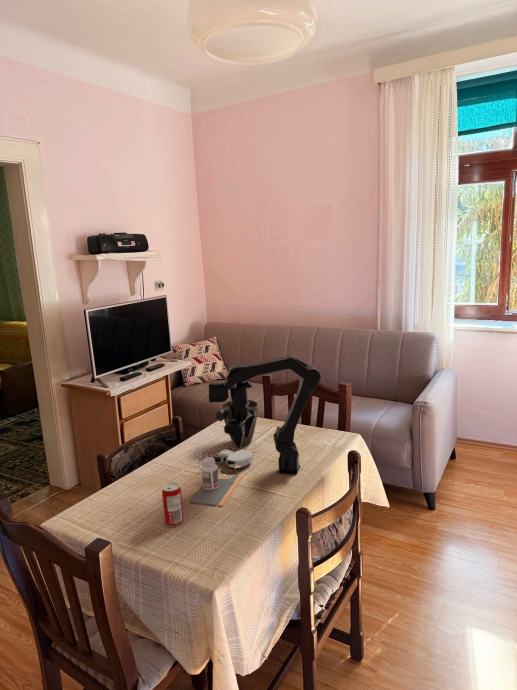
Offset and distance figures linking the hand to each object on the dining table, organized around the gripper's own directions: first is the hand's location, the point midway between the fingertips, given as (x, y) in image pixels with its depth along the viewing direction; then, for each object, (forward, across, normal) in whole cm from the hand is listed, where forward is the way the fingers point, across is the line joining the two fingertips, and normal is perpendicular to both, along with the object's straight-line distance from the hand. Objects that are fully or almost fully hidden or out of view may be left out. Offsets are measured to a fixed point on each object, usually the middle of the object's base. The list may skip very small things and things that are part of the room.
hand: (242, 442), depth 172 cm
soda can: (+12, +33, -12) cm, 37 cm away
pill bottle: (+11, +12, -8) cm, 19 cm away
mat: (+12, +12, -7) cm, 18 cm away
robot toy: (+12, -7, -7) cm, 15 cm away
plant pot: (+12, -26, -10) cm, 30 cm away
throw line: (+12, +12, -1) cm, 17 cm away
